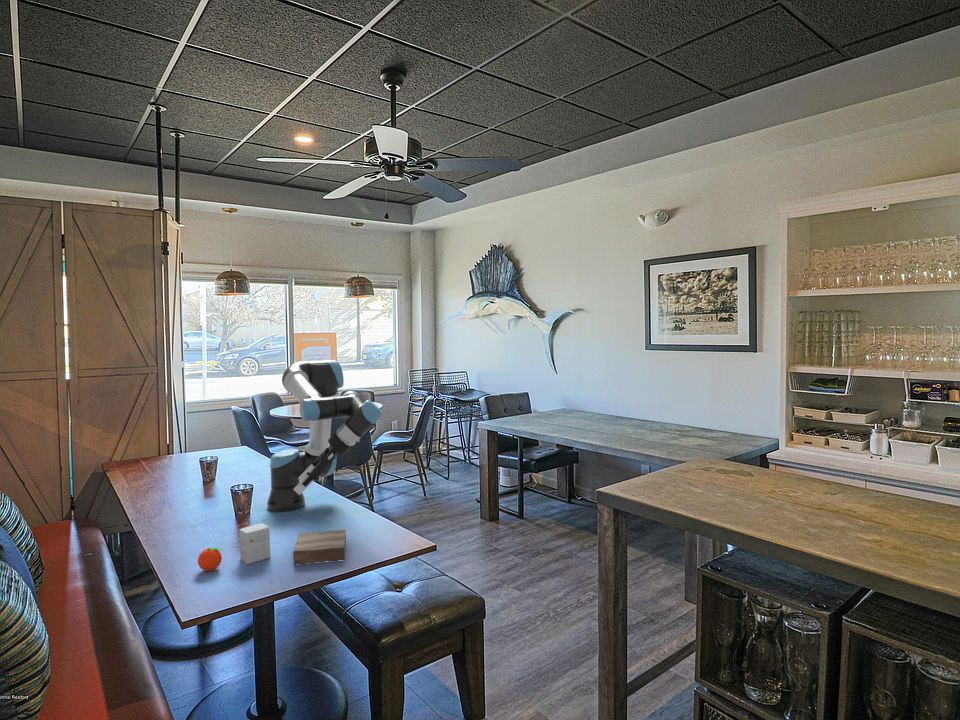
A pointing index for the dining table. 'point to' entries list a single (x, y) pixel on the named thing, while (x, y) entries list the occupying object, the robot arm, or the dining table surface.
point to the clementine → (209, 559)
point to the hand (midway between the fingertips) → (298, 486)
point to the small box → (254, 543)
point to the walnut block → (319, 547)
